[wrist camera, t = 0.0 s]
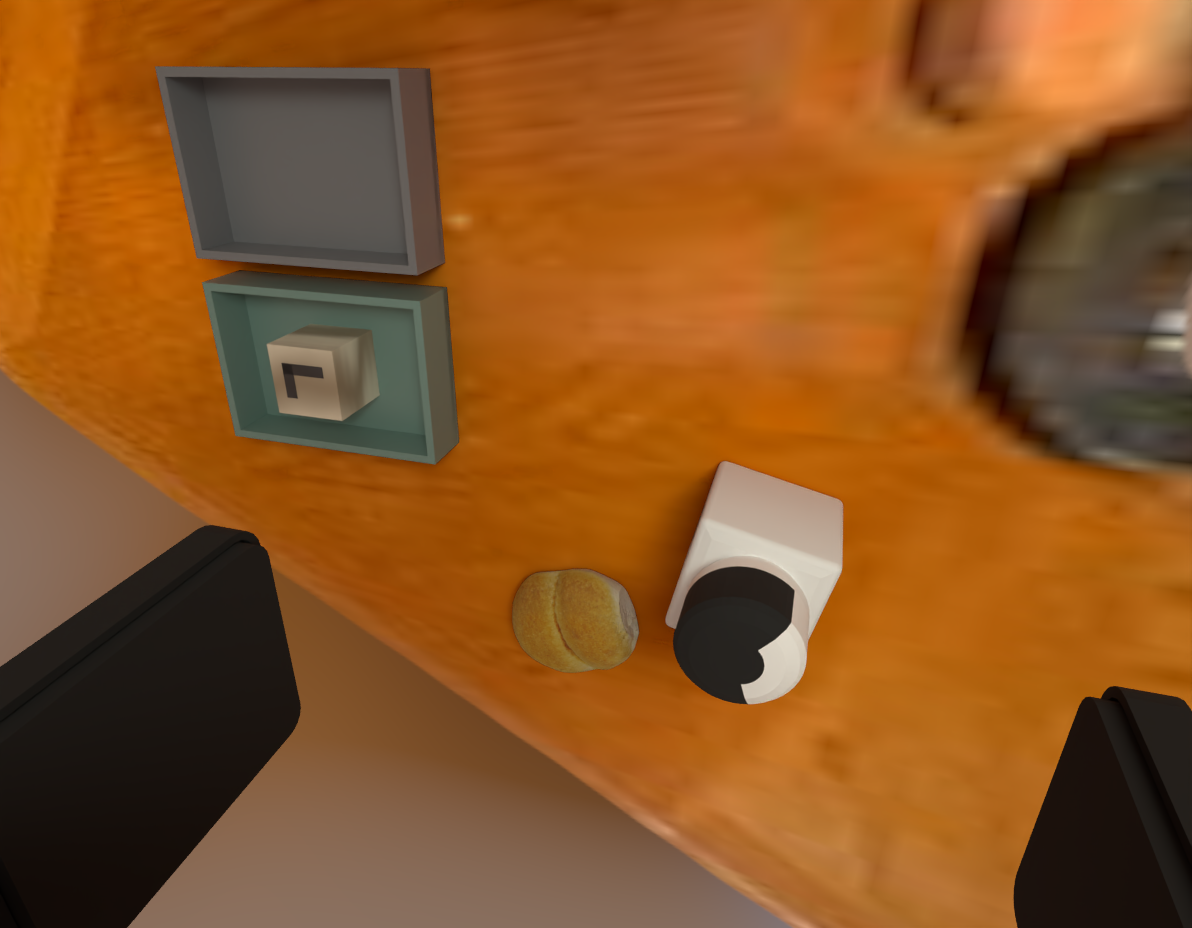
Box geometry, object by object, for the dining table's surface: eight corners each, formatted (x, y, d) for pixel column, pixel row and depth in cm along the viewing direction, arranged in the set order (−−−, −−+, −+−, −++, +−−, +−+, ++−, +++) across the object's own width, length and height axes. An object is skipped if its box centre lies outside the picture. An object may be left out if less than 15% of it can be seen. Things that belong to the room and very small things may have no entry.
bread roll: (505, 570, 57) (483, 602, 53) (619, 556, 54) (603, 589, 50) (542, 662, 60) (523, 698, 56) (652, 653, 56) (639, 691, 53)
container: (686, 556, 52) (641, 688, 41) (721, 456, 48) (682, 573, 37) (800, 597, 51) (786, 745, 39) (845, 499, 47) (844, 632, 36)
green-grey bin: (239, 270, 52) (202, 282, 49) (446, 287, 48) (420, 301, 45) (268, 416, 57) (235, 435, 54) (459, 442, 53) (435, 464, 50)
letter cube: (309, 323, 51) (265, 344, 47) (371, 329, 50) (331, 351, 46) (320, 388, 53) (278, 412, 49) (379, 395, 52) (341, 421, 48)
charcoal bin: (200, 67, 46) (155, 66, 43) (429, 68, 43) (397, 68, 40) (235, 247, 51) (196, 257, 48) (444, 262, 47) (417, 275, 44)
